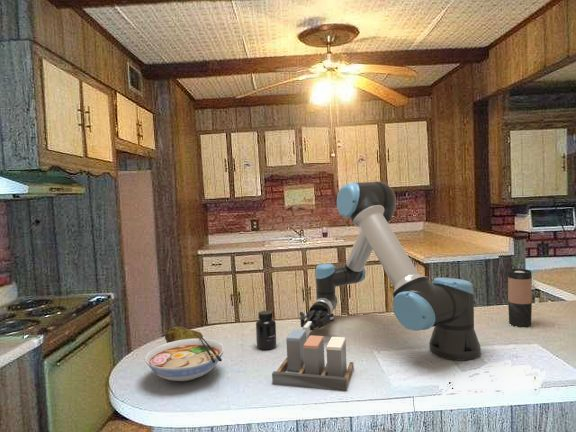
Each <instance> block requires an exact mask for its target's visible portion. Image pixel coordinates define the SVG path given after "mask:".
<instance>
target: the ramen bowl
mask: <svg viewBox="0 0 576 432" xmlns="http://www.w3.org/2000/svg"><path fill="white" fill-rule="evenodd" d="M199 335H200V334H199ZM199 335H198V337H199ZM200 336H201V335H200ZM199 338H200V337H199ZM201 338H202V336H201ZM201 338H200V339H184V340H178V341H173V342H169V343H167V342H166V343H163V344H160V345H158V346H156V347H153V348H152V349H151V350H150V351H147V353H146V354H145V357H144V362H145V363H146V365H147V366H148V367H149V368H150V369H151V371H152V372H153V373H154V374H155V375H156V376H157V377H159V378H162V379H166V380H168V381H173V382H174V381H175V382H176V381H177V382H189V381H192V380H195V379H197V378H200V377H202V376H204V375H206V374H208V373H209V372H211V371H212V370H213V369H214V367H215V366H216V365H217V364H218V363H219V362H222V361H223V359H222V356H223V354H224V350H225V349H224V344H223V343H220V342H219V341H218V340H214V339H209V338H204V337H203V338H202V339H201Z"/></svg>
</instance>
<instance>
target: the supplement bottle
mask: <svg viewBox="0 0 576 432" xmlns="http://www.w3.org/2000/svg"><path fill="white" fill-rule="evenodd" d="M257 318H258V319H257V320H256V322H255V330H256V331H255V337H256V347H257V349H259V350H261V351H270V350H273V349H275V348H276V347H277V323H276V320H275V319H274V316H273V311H272V310H261V311H259V312H258V316H257Z"/></svg>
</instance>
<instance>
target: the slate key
mask: <svg viewBox="0 0 576 432" xmlns="http://www.w3.org/2000/svg"><path fill="white" fill-rule="evenodd" d="M307 339H308V338H307V336H306V330H303V328H302V329H300V328H294V329H292V330H291V332H290V333H289V334H288V335H287V336H286V340H285V341H286V358H287V364H288V368H287V371H291V372H294V371H295V372H299V371H300V370H301V368H302V367H303V365H304V344H305V342H306V341H307Z"/></svg>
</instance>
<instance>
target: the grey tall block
mask: <svg viewBox="0 0 576 432" xmlns="http://www.w3.org/2000/svg"><path fill="white" fill-rule="evenodd" d="M346 340H347V338H346V337H343V336H342V337H341V336H331V338H330V339H329V341H328V343H327V345H326V364H327V373H328V376H336V377H345V374H346V371H347V369H348V367H347V366H348V365H347V344H346V342H347V341H346Z"/></svg>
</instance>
